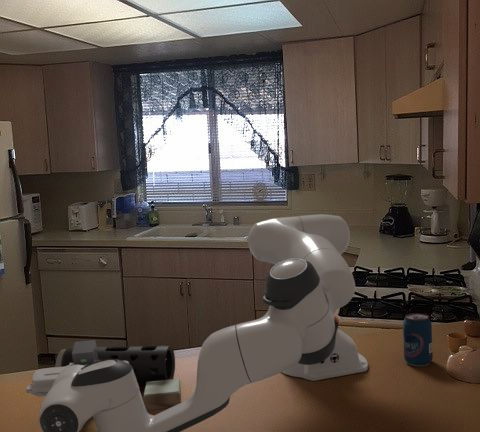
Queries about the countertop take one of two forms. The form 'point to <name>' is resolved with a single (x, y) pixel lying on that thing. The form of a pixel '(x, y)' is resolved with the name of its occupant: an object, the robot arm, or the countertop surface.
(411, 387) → the countertop surface
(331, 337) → the robot arm
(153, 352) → the muzzle brake
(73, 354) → the charger
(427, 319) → the soda can
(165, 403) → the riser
